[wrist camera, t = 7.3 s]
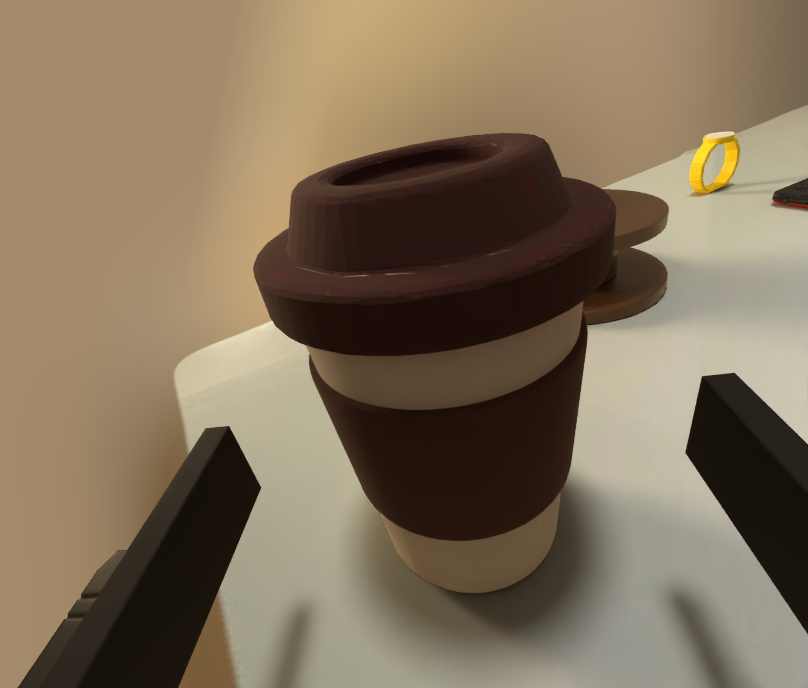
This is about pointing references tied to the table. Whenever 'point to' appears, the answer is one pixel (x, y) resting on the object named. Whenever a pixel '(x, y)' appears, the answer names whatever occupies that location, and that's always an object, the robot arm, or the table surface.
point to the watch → (702, 156)
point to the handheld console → (793, 194)
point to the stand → (630, 260)
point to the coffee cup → (448, 338)
